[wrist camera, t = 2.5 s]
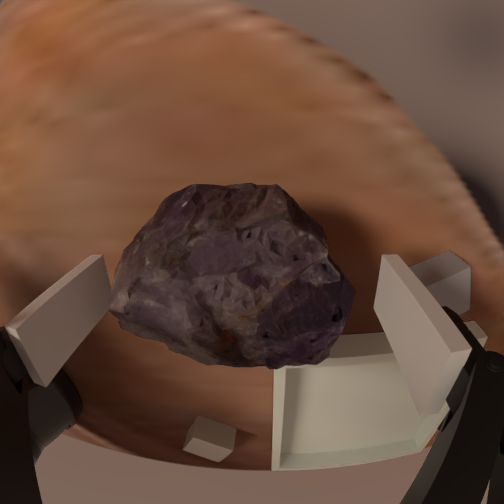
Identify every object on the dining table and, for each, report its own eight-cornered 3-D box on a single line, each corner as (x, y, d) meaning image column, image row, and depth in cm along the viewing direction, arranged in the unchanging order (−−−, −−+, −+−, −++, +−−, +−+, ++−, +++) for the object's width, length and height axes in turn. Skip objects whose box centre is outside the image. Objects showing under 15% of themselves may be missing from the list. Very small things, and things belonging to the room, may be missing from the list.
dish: (272, 452, 27) (271, 470, 25) (274, 336, 20) (274, 359, 18) (416, 436, 26) (421, 451, 23) (474, 320, 19) (488, 336, 17)
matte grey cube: (188, 428, 26) (182, 450, 23) (199, 413, 25) (193, 437, 22) (222, 440, 27) (219, 462, 24) (236, 426, 25) (233, 450, 23)
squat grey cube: (407, 308, 19) (423, 331, 16) (402, 268, 18) (420, 289, 15) (451, 289, 18) (469, 309, 16) (448, 249, 17) (470, 266, 15)
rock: (290, 316, 21) (338, 185, 17) (318, 411, 14) (415, 240, 10) (130, 287, 19) (148, 140, 15) (90, 379, 12) (79, 163, 8)
